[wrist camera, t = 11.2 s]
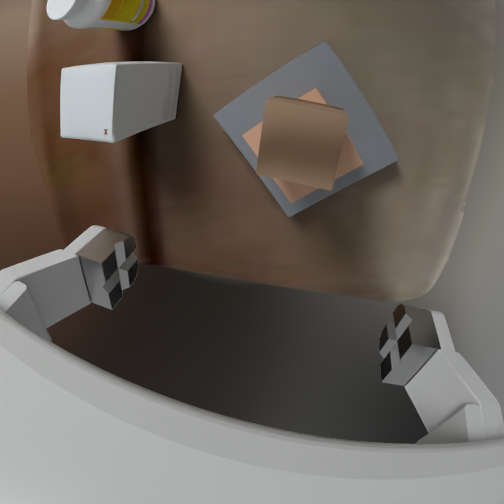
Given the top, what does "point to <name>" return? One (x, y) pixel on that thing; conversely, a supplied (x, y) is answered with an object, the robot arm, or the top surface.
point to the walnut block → (301, 141)
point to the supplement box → (117, 98)
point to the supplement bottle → (101, 13)
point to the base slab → (336, 93)
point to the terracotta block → (346, 162)
